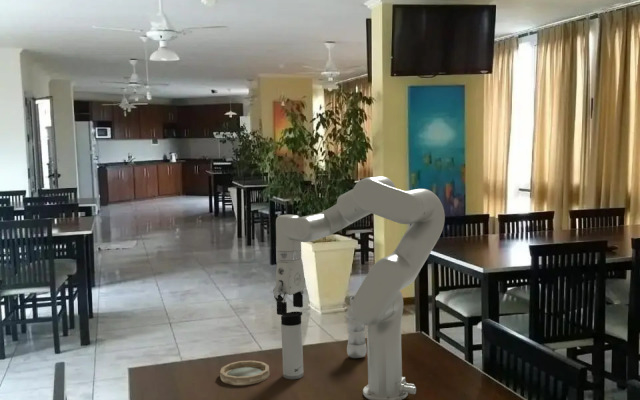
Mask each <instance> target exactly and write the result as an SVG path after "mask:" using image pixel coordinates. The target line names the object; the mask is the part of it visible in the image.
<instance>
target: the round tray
mask: <svg viewBox="0 0 640 400" xmlns="http://www.w3.org/2000/svg"><path fill="white" fill-rule="evenodd" d="M219 377H220V380H221V382H223V383H225V384H227V385H232V386H248V385H249V386H251V385H255V384H259V383H261V382H264V381H265V380H267V379H268V378H269V377H270V365H269V364H267V363H265V362H264V361H257V360H239V361H234V362H231V363H227V364H226V365H224V366H222V367H221V368H220V372H219Z"/></svg>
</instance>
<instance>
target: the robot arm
mask: <svg viewBox="0 0 640 400" xmlns="http://www.w3.org/2000/svg"><path fill="white" fill-rule="evenodd" d="M371 214H373V215H374V216H378V217H380V218H384V219H386V220H389V221H391V222H394V223H397V224H400V225H410V226H409V228H408V229H407V230H406V232H405V233H404V234H403V235H402V237H401V239H400V241H399V242H398V244H397V246H396V247H395V249H394V250H393V251H392V252H391V253H390V254H389V255H387V256H384V257H382V258H380V259H379V260H377V261H376V262H375V263H374V264H373V265H372V266H371V268H370V269H369V271H368V273H367V274H366V275H365V277H364V279H363V281H362V283H361V285H360V286H359V287H358V290H357V291H356V293H355V294H354V296H353V297H354V299H353V303H352V311H353V315H354V317H355V318H356V320H357V321H358V322H360V323H361V324H364V325H365V326H367V327H366V337H367V339H366V347H367V352H366V353H367V380H368V381H367V382H368V384H367V385H366V386H364V387H363V389H362V394H363V396H364V398H366V399H368V400H404V399H406V398H407V397H408V395H409V394H412V395H415V394H417V387H416V385H415V384H414V383H408V382H407V381H406V376H403V361H402V357H403V356H402V353H403V352H402V321H403V320H402V318H403V311H404V298H403V297H404V296H403V293H402V291H401V290H404V289H405V288H407V287H409V286H411V284H413V283H414V282H415V281H416V278H417V277H418V275H419V274H420V272H421V269H422V268H423V266H424V265H425V263H426V261H427V260H428V258H429V256H430V255H431V252H432V250H433V249H434V247H435V246H436V245H437V242H438V241H439V239H440V236H441V234H442V232H443V230H444V226H445V222H446V220H445V219H446V217H445V216H446V214H445V209H444V205H443V203H442V202H441V199H440V198H439V197H438V196H437V194H435V193H434V192H433V191H431V190H430V189H427V188H417V189H416V188H415V189H411V190H410V189H409V190H402V189H399V188H396V185H395V183H394V182H393V181H392V180H391V179H390V178H389V177H386V176H383V175H382V176H379V175H378V176H372V177H371V176H370V177H365V178H362V179H360V180H358V181H357V182H356V183H355V185H354V187H352V189H350V190H348V191H347V192H345V193H342V194H340V195H339V196H338V197H337V200H336V204H334V205H333V206H331V207H329V208H327V209H325V210H323V211H320V212H318V213H315V214H309V215H305V216H300V215H297V214H282V215H278V216H277V217H276V219H275V238H276V239H275V241H276V243H275V244H276V246H275V247H276V261H277V263H276V271H275V286H274V287H273V289H272V293H273V297H274V301H275V302H276V314H277V315H278V316H282V315H284V316H285V315H287V313H288V312H287V311H288V306H287V301H286V300H287V297H288V296H291V295H292V306H293V307H295V308H301V309H302V308H303V306H304V302H303V301H304V296H303V295H304V289H305V281H306V278H305V272H304V271H305V269H304V265H303V262H304V261H303V259H302V243H309V242H313V241H316V240H320V239H324V238H326V237H329V236H331V235H333V234H335V233H337V232H339V231H341V230H343V229H345V228H347V227H348V226H350V225H352V224H354V223H355V222H357V221H359V220H362V219H363V218H365V217H367V216H369V215H371Z"/></svg>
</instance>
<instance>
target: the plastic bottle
mask: <svg viewBox="0 0 640 400" xmlns="http://www.w3.org/2000/svg"><path fill="white" fill-rule="evenodd" d="M354 297H355V296H351V297H349V304H350V305H349V308H347V311H346V323H347V330H348V332H347V333H348V336H347V346H346V353H347V355H348V357H349V358H351V359H361V358H365V356H366V355H367V353H368V352H367V342H366V335H365V333H366V331H365V329H366V328H365V327H366V325H364V324H361V323H360V322H358V321H357V320H356V318H355V317H354V315H353V311H352V303H353V299H354Z"/></svg>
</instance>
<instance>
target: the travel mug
mask: <svg viewBox="0 0 640 400" xmlns="http://www.w3.org/2000/svg"><path fill="white" fill-rule="evenodd" d="M302 316H303V312H302V311H290V312H287V315H285V316H284V315H280V321H281V322H280V325H281V332H280V333H281V352H282V356H281V357H282V376H283V378H285V379H287V380H298V379H301V378H302V377H303V376H304V354H303V352H304V350H303V327H302V326H303V323H302Z"/></svg>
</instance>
